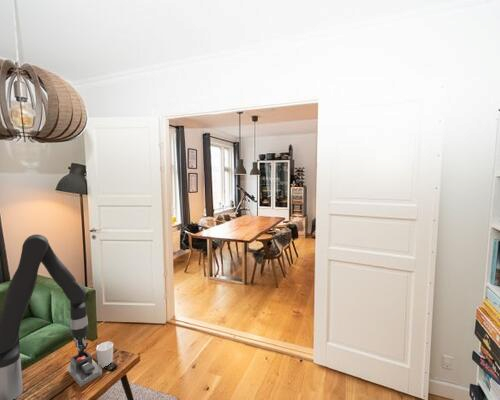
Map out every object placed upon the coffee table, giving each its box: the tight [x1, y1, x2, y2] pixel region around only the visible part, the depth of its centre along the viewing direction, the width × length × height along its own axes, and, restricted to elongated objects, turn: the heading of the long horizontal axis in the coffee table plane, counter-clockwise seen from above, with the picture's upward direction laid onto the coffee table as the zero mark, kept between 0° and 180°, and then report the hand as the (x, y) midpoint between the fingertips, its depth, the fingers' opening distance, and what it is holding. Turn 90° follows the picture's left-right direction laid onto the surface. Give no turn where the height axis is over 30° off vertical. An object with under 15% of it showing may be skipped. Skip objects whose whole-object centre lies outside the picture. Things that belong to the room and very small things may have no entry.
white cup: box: [96, 340, 114, 369], centre depth 141 cm, size 8×8×10 cm
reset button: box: [76, 356, 86, 362], centre depth 137 cm, size 4×4×1 cm
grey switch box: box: [67, 349, 103, 388], centre depth 135 cm, size 10×16×7 cm, turn 53°
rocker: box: [81, 362, 95, 374], centre depth 132 cm, size 4×7×2 cm, turn 53°
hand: (81, 356), depth 137 cm, fingers closed
